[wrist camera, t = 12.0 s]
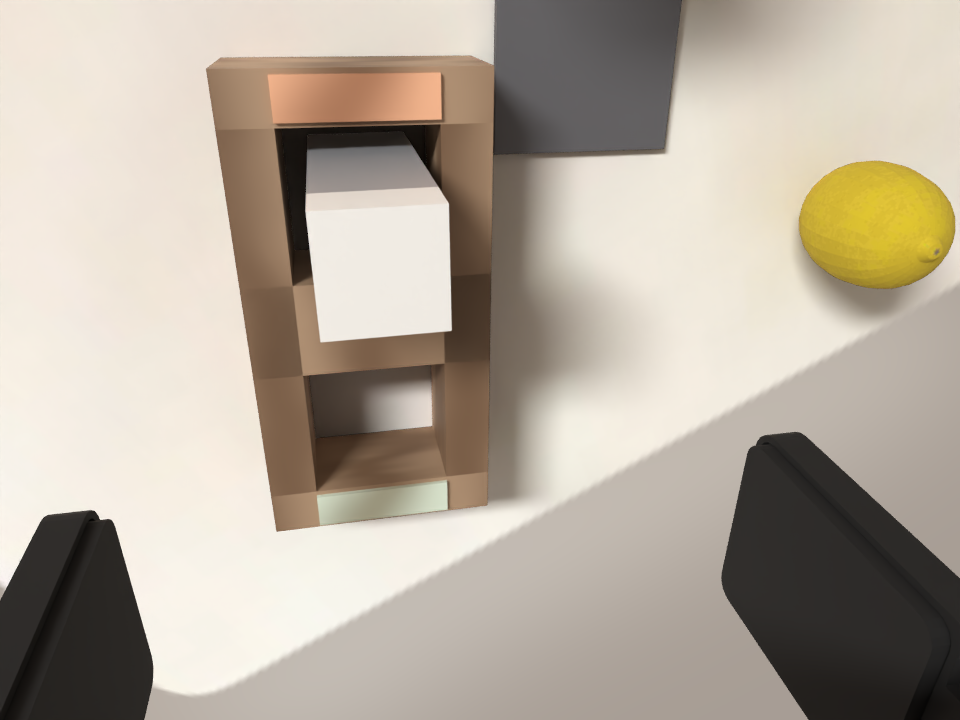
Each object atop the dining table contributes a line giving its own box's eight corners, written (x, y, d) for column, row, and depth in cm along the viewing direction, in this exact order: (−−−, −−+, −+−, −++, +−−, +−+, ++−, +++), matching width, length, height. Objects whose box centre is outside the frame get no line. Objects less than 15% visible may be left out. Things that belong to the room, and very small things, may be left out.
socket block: (470, 55, 30) (495, 66, 26) (469, 453, 39) (488, 507, 35) (220, 57, 28) (205, 69, 24) (280, 474, 38) (276, 534, 34)
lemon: (814, 272, 39) (925, 335, 32) (746, 219, 36) (849, 274, 30) (888, 184, 37) (1021, 229, 30) (822, 123, 35) (949, 157, 28)
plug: (402, 131, 31) (449, 203, 21) (407, 222, 33) (451, 331, 23) (307, 134, 30) (305, 211, 20) (317, 227, 32) (320, 342, 22)
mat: (683, -51, 30) (687, -51, 30) (660, 147, 34) (663, 148, 33) (495, -54, 29) (498, -55, 28) (492, 152, 32) (494, 154, 32)
